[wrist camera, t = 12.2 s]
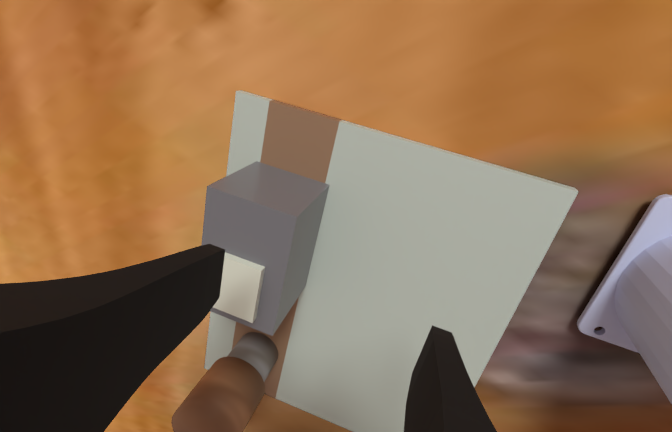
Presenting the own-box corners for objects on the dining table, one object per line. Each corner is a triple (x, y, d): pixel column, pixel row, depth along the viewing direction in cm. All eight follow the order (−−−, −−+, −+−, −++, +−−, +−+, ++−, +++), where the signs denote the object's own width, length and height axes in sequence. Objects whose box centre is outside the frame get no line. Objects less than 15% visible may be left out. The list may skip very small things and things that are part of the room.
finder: (329, 184, 22) (293, 220, 17) (305, 286, 25) (269, 340, 20) (256, 161, 22) (202, 188, 18) (241, 262, 25) (191, 309, 21)
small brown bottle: (292, 348, 27) (242, 435, 21) (270, 380, 29) (218, 469, 22) (246, 317, 27) (183, 395, 21) (227, 351, 29) (164, 432, 22)
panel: (575, 187, 19) (578, 191, 18) (433, 457, 28) (432, 465, 27) (241, 90, 22) (236, 91, 21) (208, 362, 31) (204, 368, 30)
